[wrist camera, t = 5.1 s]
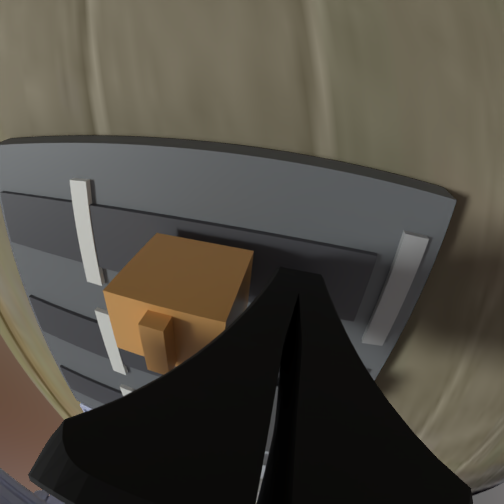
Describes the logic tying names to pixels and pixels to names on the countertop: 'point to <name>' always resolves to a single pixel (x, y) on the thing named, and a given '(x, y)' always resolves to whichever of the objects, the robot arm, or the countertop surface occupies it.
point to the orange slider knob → (177, 298)
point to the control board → (208, 235)
